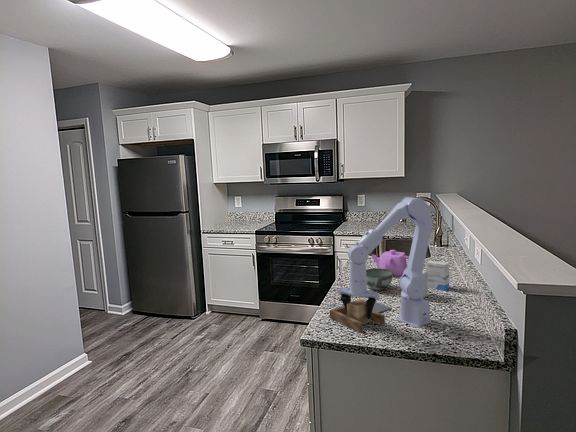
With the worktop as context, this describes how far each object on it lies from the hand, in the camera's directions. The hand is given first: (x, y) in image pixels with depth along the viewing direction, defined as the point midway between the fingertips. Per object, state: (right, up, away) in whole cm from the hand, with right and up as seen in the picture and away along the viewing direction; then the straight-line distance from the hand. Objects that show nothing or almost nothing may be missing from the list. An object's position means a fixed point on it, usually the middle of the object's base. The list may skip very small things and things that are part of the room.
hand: (358, 316), depth 128 cm
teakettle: (+29, +6, +60) cm, 67 cm away
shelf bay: (0, -2, +1) cm, 2 cm away
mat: (+8, 0, +12) cm, 14 cm away
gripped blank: (0, -2, 0) cm, 2 cm away
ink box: (+42, +3, +33) cm, 53 cm away
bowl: (+16, +2, +35) cm, 38 cm away
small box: (+30, +2, +24) cm, 38 cm away
